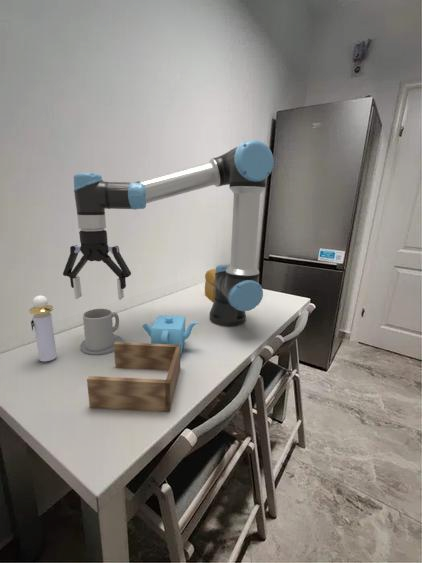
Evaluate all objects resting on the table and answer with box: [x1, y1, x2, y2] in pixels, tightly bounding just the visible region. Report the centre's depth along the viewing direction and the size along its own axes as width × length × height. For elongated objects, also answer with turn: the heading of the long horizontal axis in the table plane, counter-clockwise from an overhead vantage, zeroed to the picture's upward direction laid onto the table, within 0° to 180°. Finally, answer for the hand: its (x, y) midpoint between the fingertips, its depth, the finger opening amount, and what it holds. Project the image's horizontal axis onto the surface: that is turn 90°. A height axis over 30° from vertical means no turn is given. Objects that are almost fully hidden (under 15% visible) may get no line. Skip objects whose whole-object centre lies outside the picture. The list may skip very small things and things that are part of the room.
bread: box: [204, 268, 216, 303], centre depth 143 cm, size 24×13×15 cm, turn 111°
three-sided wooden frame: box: [86, 341, 181, 413], centre depth 71 cm, size 18×17×8 cm
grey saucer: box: [79, 333, 124, 356], centre depth 91 cm, size 13×13×1 cm
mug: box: [82, 308, 120, 351], centre depth 90 cm, size 12×8×11 cm
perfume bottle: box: [28, 294, 58, 362], centre depth 80 cm, size 6×6×20 cm
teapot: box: [141, 314, 200, 356], centre depth 89 cm, size 16×18×11 cm
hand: (99, 298), depth 87 cm, fingers open, 13 cm apart
